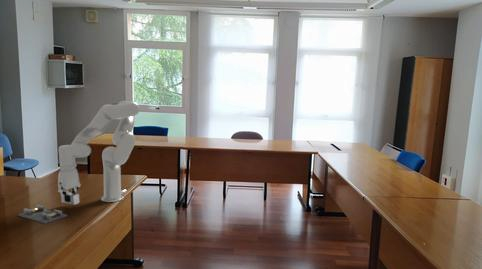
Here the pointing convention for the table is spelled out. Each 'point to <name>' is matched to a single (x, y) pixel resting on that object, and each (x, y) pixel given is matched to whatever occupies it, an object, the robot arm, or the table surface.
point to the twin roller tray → (44, 216)
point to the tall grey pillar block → (71, 198)
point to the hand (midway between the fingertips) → (70, 200)
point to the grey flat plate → (38, 216)
